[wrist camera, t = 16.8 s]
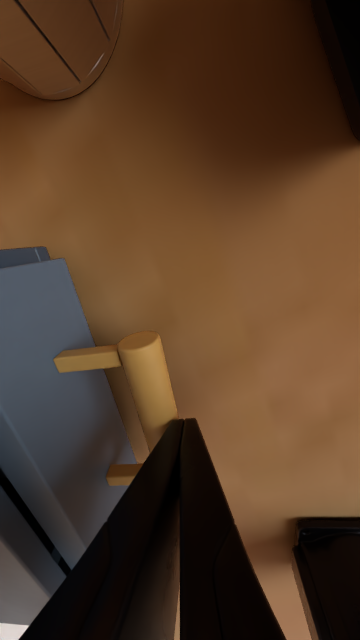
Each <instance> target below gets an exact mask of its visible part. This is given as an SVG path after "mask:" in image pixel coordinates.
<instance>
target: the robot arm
mask: <svg viewBox="0 0 360 640" xmlns="http://www.w3.org/2000/svg"><path fill="white" fill-rule="evenodd" d="M292 570H293V573H294V577H295V580H296V584H297V588H298V591H299V595H300V598H301V602H302V606H303V609H304V613H305V616H306V620H307V624H308V627H309V631H310V635H311V638H312V640H360V521H299V522H298V523H297V524H296V543H295V545H294V547H293V549H292ZM179 582H180V640H286V638H285V636H284V634H283V632H282V629H281V627H280V625H279V623H278V621H277V619H276V617H275V615H274V613H273V611H272V609H271V607H270V604H269V602H268V600H267V598H266V596H265V594H264V591H263V589H262V587H261V585H260V583H259V581H258V578H257V576H256V574H255V572H254V569H253V567H252V564H251V562H250V559H249V557H248V555H247V552H246V550H245V547H244V545H243V542H242V539H241V537H240V534H239V531H238V529H237V526H236V524H235V522H234V519H233V516H232V513H231V511H230V508H229V505H228V503H227V500H226V497H225V495H224V492H223V489H222V487H221V484H220V481H219V479H218V476H217V473H216V471H215V468H214V465H213V463H212V460H211V457H210V455H209V452H208V449H207V447H206V444H205V441H204V439H203V436H202V433H201V431H200V428H199V425H198V423H197V420H196V419H195V418H186V419H185V420H184V419H174V420H172V421H171V423H170V424H169V426H168V427H167V429H166V430H165V432H164V433H163V435H162V436H161V438H160V440H159V441H158V443H157V444H156V446H155V447H154V449H153V450H152V452H151V453H150V455H149V456H148V458H147V459H146V461H145V462H144V464H143V465H142V467H141V468H140V470H139V471H138V473H137V474H136V476H135V477H134V479H133V480H132V482H131V483H130V485H129V486H128V488H127V489H126V491H125V492H124V494H123V495H122V497H121V498H120V500H119V501H118V503H117V504H116V506H115V507H114V509H113V511H112V512H111V514H110V515H109V517H108V518H107V522H104V524H103V525H102V527H101V528H100V530H99V531H98V533H97V534H96V536H95V537H94V539H93V540H92V542H91V543H90V545H89V546H88V548H87V549H86V551H85V552H84V553H83V555H82V556H81V558H80V559H79V561H78V562H77V563H76V565H75V566H74V567H73V569H72V570H71V571H70V573H69V574H68V576H67V577H66V578H65V580H64V581H63V582H62V584H61V585H60V586H59V588H58V589H57V590H56V592H55V593H54V594H53V595H52V597H51V598H50V599H49V601H48V602H47V603H46V605H45V606H44V607H43V608H42V610H41V611H40V612H39V614H38V615H37V616H36V618H35V619H34V620H33V621H32V623H31V624H30V625H29V627H28V628H27V629H26V631H25V632H24V633H23V634H22V636H21V637H20V638H19V640H174V632H175V622H176V612H177V602H178V592H179Z"/></svg>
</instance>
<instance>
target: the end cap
mask: <svg viewBox="0 0 360 640" xmlns="http://www.w3.org/2000/svg"><path fill="white" fill-rule="evenodd" d="M311 4H312V9H313V14H314V18H315V21H316V24H317V27H318V30H319V33H320V36H321V39H322V42H323V45H324V48H325V51H326V54H327V57H328V60H329V63H330V66H331V69H332V71H333V74H334V77H335V80H336V83H337V86H338V89H339V92H340V95H341V98H342V101H343V104H344V107H345V110H346V113H347V116H348V119H349V121H350V124H351V127H352V130H353V133H354V134H355V136H356V137H357V138H358V140H360V0H311Z"/></svg>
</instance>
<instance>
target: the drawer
mask: <svg viewBox="0 0 360 640" xmlns="http://www.w3.org/2000/svg"><path fill="white" fill-rule="evenodd" d="M121 365H123V368H124V371H125V374H126V377H127V381H128V384H129V387H130V390H131V393H132V397H133V400H134V403H135V406H136V409H137V412H138V416H139V419H140V422H141V425H142V428H143V432H144V435H145V438H146V441H147V444H148V447H149V451H150V453H151V452H152V450H153V449H154V447H155V446H156V444H157V443H158V441H159V440H160V438H161V436H162V435H163V433H164V432H165V430H166V429H167V427H168V426H169V424H170V423H171V421H172V420H174V419H179V417H178V413H177V409H176V404H175V400H174V395H173V391H172V387H171V382H170V378H169V374H168V369H167V365H166V360H165V356H164V352H163V347H162V343H161V339H160V336H159V334H158V333H156V332H153V331H143V332H137V333H134V334H131V335H129V336H127V337H125V338H123V339H122V340H121V341H120V342H119V343H118V344H116V345H108V346H99V347H96V346H95V344H94V341H93V338H92V335H91V332H90V329H89V327H88V324H87V321H86V318H85V315H84V313H83V310H82V307H81V304H80V301H79V298H78V296H77V293H76V290H75V287H74V284H73V282H72V279H71V276H70V273H69V270H68V267H67V265H66V262H65V259H64V258H59V259H53V260H48V261H42V262H36V263H30V264H24V265H18V266H13V267H7V268H1V269H0V485H1V486H2V488H3V489H4V491H5V492H6V493H7V495H8V496H9V497H10V499H11V500H12V502H13V503H14V504H15V506H16V507H17V508H18V510H19V511H20V513H21V514H22V515H23V517H24V518H25V520H26V521H27V522H28V524H29V525H30V526H31V528H32V529H33V531H34V532H35V533H36V535H37V536H38V537H39V539H40V540H41V542H42V543H43V544H44V546H45V547H46V549H47V550H48V551H49V553H50V554H51V555H52V557H53V558H54V560H55V561H56V562H57V564H58V563H59V561H60V558H61V556H62V557H63V559H64V560H65V562H66V563H67V564H68V566H69V567H70V569H71V570H72V569H73V567H74V566H75V565H76V563H77V562H78V561H79V559H80V558H81V556H82V555H83V553H84V552H85V551H86V549H87V548H88V546H89V545H90V543H91V542H92V540H93V539H94V537H95V536H96V534H97V533H98V531H99V530H100V528H101V527H102V525H103V524H104V522H107V518H108V517H109V515H110V514H111V512H112V511H113V509H114V507H115V506H116V504H117V503H118V501H119V500H120V498H121V497H122V495H123V494H124V492H125V491H126V489H127V488H128V486H129V485H130V483H131V482H132V480H133V479H134V477H135V476H136V474H137V473H138V471H139V470H140V468H141V467H142V465H143V464H144V463H143V464H137V462H136V459H135V456H134V453H133V451H132V448H131V445H130V442H129V439H128V437H127V434H126V431H125V428H124V425H123V422H122V420H121V417H120V414H119V411H118V408H117V406H116V403H115V400H114V397H113V394H112V391H111V389H110V386H109V383H108V380H107V377H106V375H105V372H104V369H103V368H113V367H120V366H121Z"/></svg>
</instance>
